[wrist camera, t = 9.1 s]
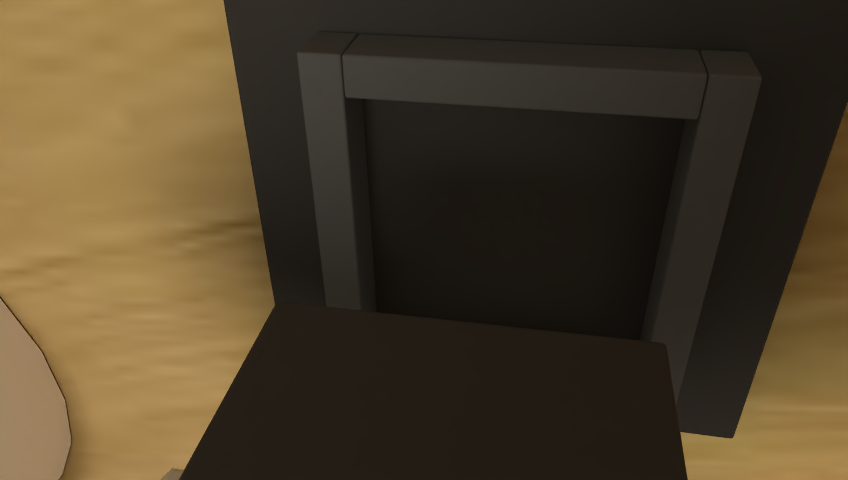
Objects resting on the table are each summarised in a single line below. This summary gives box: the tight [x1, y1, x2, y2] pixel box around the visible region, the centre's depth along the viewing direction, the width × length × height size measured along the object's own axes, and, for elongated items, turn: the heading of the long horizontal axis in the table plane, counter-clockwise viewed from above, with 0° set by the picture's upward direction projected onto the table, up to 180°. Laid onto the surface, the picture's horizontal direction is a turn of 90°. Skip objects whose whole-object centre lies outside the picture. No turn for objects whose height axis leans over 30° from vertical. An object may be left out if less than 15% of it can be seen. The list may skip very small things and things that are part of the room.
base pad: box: [224, 0, 848, 438], centre depth 18 cm, size 14×14×2 cm
